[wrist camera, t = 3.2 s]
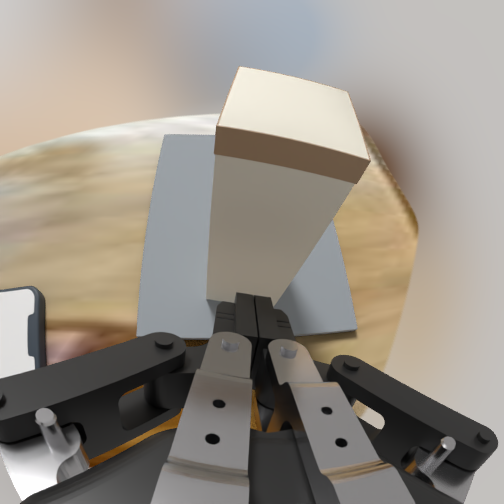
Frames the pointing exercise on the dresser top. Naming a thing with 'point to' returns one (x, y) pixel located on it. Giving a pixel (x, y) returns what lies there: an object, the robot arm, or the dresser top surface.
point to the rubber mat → (196, 256)
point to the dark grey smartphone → (21, 330)
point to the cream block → (277, 179)
